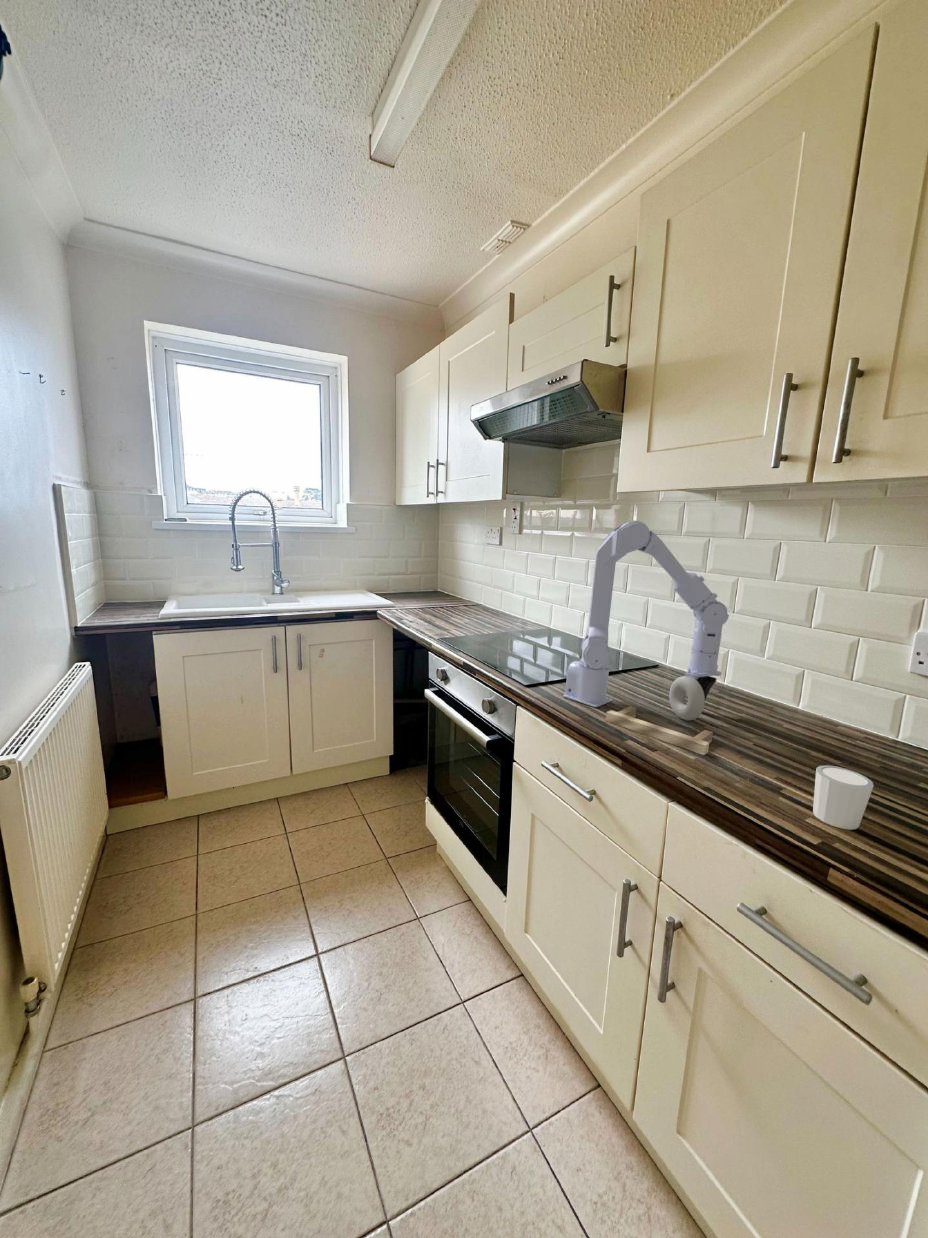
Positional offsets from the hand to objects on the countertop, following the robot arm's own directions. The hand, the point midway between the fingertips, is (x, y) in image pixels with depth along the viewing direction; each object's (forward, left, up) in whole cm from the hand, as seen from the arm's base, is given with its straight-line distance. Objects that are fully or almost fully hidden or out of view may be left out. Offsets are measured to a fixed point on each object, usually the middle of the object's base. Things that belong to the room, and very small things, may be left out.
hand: (697, 706), depth 117 cm
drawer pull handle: (0, -19, -1) cm, 19 cm away
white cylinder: (+32, -29, -2) cm, 43 cm away
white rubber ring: (0, -7, -2) cm, 8 cm away
